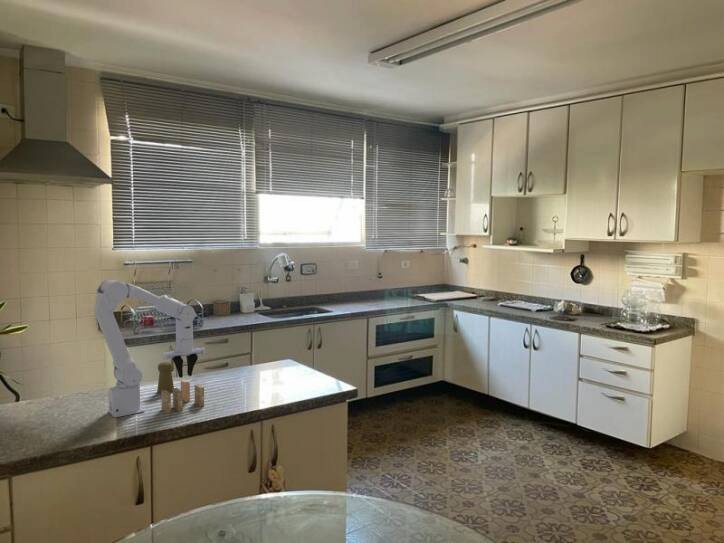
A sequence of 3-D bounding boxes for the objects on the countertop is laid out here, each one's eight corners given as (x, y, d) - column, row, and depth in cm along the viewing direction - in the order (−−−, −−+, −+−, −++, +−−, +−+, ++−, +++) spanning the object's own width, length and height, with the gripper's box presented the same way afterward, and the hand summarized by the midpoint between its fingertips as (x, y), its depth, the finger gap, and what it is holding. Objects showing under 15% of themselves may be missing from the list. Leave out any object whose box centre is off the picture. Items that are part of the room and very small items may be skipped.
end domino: (200, 406, 186) (200, 388, 186) (194, 402, 190) (194, 384, 190) (204, 406, 187) (204, 387, 187) (198, 402, 191) (198, 384, 191)
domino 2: (186, 401, 192) (185, 383, 191) (180, 398, 195) (180, 380, 195) (190, 401, 192) (189, 382, 192) (184, 397, 196) (184, 379, 196)
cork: (170, 394, 199) (170, 364, 198) (154, 394, 200) (153, 364, 199) (176, 389, 205) (176, 360, 204) (160, 389, 206) (160, 360, 205)
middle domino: (178, 411, 182) (177, 392, 181) (172, 407, 186) (172, 388, 185) (182, 410, 183) (182, 391, 182) (177, 406, 187) (176, 387, 186)
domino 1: (166, 413, 179) (166, 394, 179) (161, 409, 183) (161, 390, 183) (171, 412, 180) (170, 393, 180) (165, 408, 184) (165, 389, 184)
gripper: (200, 334, 200) (200, 370, 201) (159, 338, 191) (160, 376, 192) (207, 337, 194) (208, 374, 195) (166, 342, 185) (167, 381, 186)
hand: (185, 376), depth 193 cm, fingers open, 3 cm apart
